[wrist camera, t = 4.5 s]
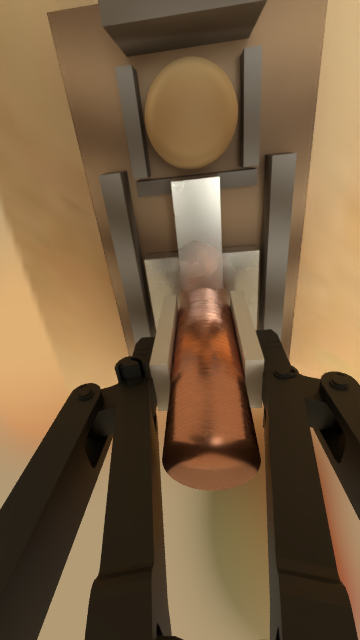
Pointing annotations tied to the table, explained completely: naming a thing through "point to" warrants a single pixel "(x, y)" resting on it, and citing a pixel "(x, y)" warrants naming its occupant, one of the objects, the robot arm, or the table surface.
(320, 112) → the table surface
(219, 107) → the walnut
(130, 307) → the base
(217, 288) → the lever handle
